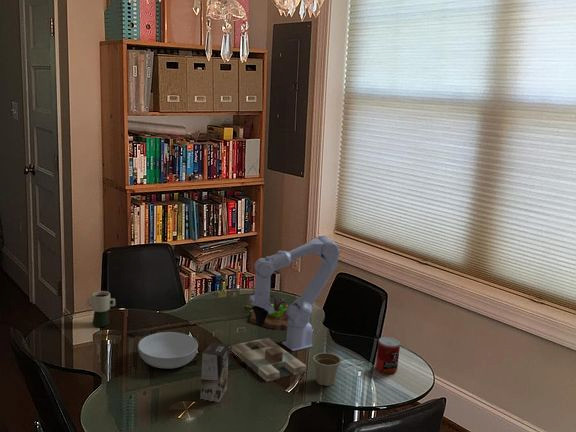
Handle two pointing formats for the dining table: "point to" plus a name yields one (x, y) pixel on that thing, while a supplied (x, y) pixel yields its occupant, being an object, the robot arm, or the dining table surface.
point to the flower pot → (326, 368)
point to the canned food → (387, 355)
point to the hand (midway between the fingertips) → (260, 324)
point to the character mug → (100, 307)
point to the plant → (275, 316)
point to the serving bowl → (168, 349)
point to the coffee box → (214, 371)
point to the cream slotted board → (256, 360)
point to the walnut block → (273, 355)
